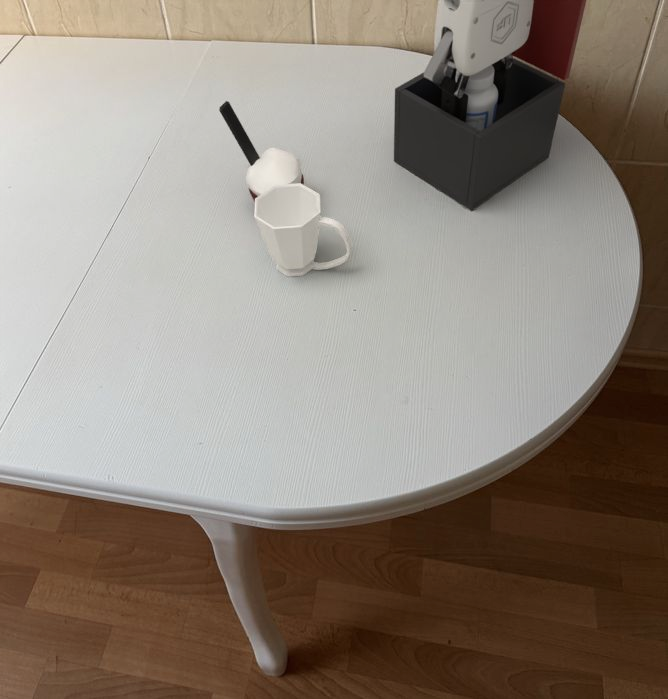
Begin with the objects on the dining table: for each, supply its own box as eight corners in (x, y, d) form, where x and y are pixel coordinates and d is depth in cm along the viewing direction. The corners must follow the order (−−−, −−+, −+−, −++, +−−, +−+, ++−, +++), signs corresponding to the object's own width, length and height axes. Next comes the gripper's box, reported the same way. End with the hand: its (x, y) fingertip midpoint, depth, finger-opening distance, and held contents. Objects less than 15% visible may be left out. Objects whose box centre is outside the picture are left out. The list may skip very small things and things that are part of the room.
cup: (277, 234, 79) (268, 176, 72) (362, 252, 76) (361, 194, 70) (252, 278, 75) (240, 221, 68) (340, 299, 72) (336, 242, 66)
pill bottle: (464, 126, 85) (472, 49, 77) (500, 144, 82) (512, 67, 74) (434, 147, 82) (440, 70, 75) (470, 166, 80) (480, 89, 72)
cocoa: (323, 212, 80) (315, 121, 71) (278, 238, 78) (264, 148, 69) (275, 172, 85) (261, 83, 76) (232, 195, 83) (212, 106, 73)
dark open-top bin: (471, 211, 79) (481, 137, 71) (393, 161, 85) (394, 88, 77) (548, 157, 84) (565, 83, 76) (470, 113, 90) (478, 40, 82)
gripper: (457, -16, 59) (442, 160, 74) (583, -82, 66) (547, 92, 80) (395, -43, 63) (392, 130, 77) (520, -103, 69) (497, 67, 84)
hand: (471, 109), depth 78 cm, fingers closed on pill bottle, 5 cm apart
